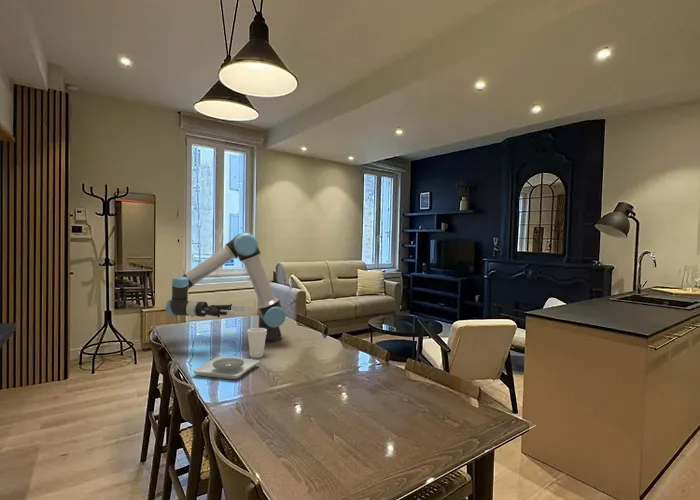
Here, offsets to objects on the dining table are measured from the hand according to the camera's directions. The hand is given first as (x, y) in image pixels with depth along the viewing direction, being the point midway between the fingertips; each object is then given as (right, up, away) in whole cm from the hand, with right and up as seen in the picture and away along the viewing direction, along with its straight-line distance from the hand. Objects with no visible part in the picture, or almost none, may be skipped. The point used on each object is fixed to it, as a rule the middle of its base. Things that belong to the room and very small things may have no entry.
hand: (238, 311), depth 192 cm
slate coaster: (+2, -20, -24) cm, 31 cm away
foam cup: (+9, -23, 0) cm, 24 cm away
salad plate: (+2, -23, -24) cm, 34 cm away
